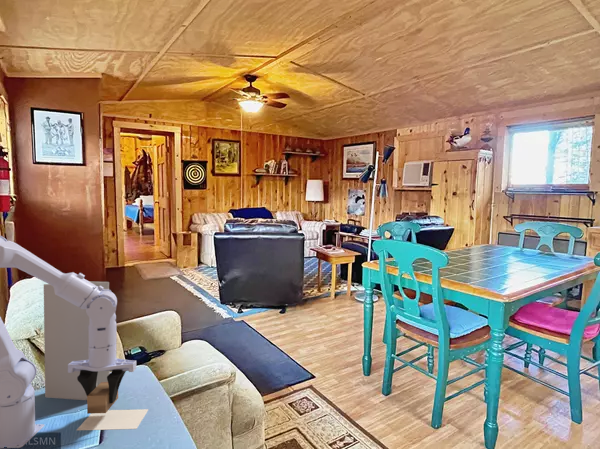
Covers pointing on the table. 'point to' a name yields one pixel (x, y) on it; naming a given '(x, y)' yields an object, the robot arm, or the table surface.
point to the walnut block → (99, 399)
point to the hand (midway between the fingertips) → (102, 401)
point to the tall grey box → (65, 345)
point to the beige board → (114, 420)
